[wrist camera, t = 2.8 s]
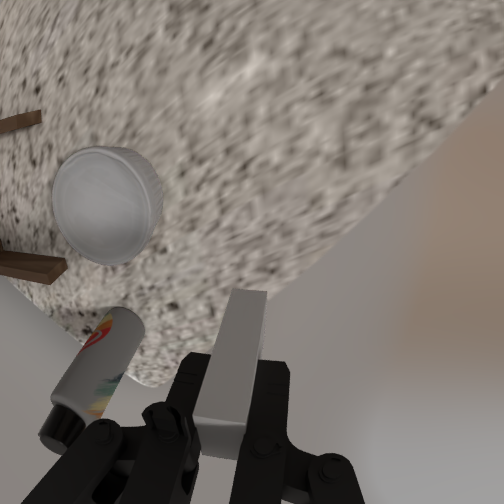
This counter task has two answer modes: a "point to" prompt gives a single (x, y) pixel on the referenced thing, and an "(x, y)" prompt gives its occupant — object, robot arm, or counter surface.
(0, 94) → the counter surface
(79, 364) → the lotion bottle
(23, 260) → the walnut box
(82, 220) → the ramekin
